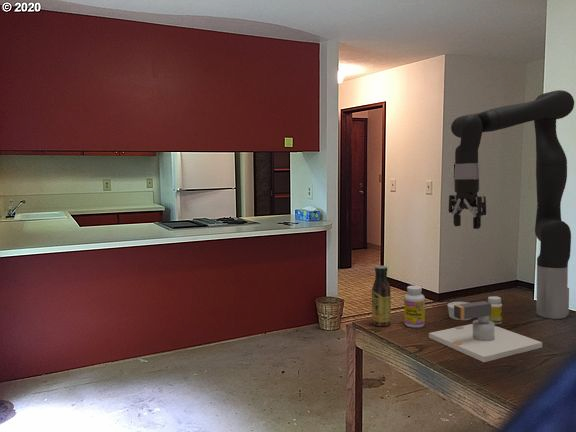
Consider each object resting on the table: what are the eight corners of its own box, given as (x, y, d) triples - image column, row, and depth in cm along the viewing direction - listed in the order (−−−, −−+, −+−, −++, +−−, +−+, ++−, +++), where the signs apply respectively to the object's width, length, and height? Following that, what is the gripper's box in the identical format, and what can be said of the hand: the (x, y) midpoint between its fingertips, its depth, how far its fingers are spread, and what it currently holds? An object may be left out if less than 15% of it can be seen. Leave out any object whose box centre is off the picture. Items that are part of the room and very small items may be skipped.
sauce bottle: (370, 322, 169) (368, 265, 167) (388, 320, 170) (386, 264, 168) (375, 328, 163) (373, 268, 161) (393, 326, 163) (392, 267, 161)
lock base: (483, 326, 160) (483, 308, 160) (542, 347, 140) (542, 327, 140) (429, 337, 152) (428, 318, 151) (483, 362, 132) (483, 340, 131)
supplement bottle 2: (503, 324, 161) (503, 299, 160) (488, 324, 162) (488, 299, 161) (500, 320, 166) (500, 295, 165) (485, 320, 166) (485, 295, 166)
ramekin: (456, 322, 166) (456, 309, 165) (442, 315, 174) (442, 303, 174) (480, 319, 168) (480, 307, 167) (464, 312, 176) (464, 300, 176)
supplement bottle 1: (402, 327, 162) (402, 289, 161) (406, 321, 168) (405, 284, 167) (423, 329, 160) (423, 290, 159) (426, 322, 166) (425, 285, 165)
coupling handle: (484, 319, 147) (484, 300, 147) (491, 322, 144) (491, 303, 144) (454, 324, 144) (454, 304, 144) (460, 327, 141) (460, 307, 141)
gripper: (442, 178, 164) (442, 226, 166) (474, 178, 151) (474, 230, 153) (459, 177, 167) (459, 224, 169) (492, 177, 154) (492, 228, 156)
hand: (466, 227), depth 161 cm, fingers open, 8 cm apart
